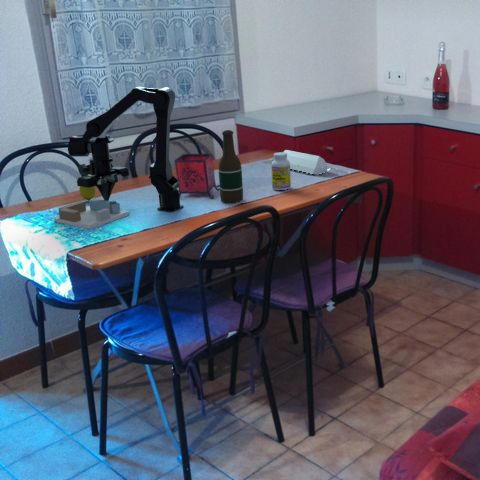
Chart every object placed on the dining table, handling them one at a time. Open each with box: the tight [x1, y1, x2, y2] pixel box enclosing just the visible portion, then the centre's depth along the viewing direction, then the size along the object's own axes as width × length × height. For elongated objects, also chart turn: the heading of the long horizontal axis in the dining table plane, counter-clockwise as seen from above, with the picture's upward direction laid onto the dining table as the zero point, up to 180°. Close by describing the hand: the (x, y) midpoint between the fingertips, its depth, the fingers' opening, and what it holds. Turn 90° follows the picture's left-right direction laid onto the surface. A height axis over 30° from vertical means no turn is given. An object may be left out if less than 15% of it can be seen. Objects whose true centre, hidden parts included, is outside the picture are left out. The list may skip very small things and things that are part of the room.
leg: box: [88, 198, 121, 214], centre depth 227 cm, size 12×3×4 cm, turn 53°
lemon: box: [79, 186, 97, 202], centre depth 244 cm, size 6×6×8 cm
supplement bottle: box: [270, 151, 292, 191], centre depth 244 cm, size 7×7×13 cm
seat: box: [53, 200, 130, 230], centre depth 224 cm, size 18×17×4 cm
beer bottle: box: [218, 129, 244, 204], centre depth 231 cm, size 8×8×24 cm
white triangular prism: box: [283, 149, 328, 175], centre depth 270 cm, size 7×7×24 cm
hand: (106, 201), depth 234 cm, fingers closed
